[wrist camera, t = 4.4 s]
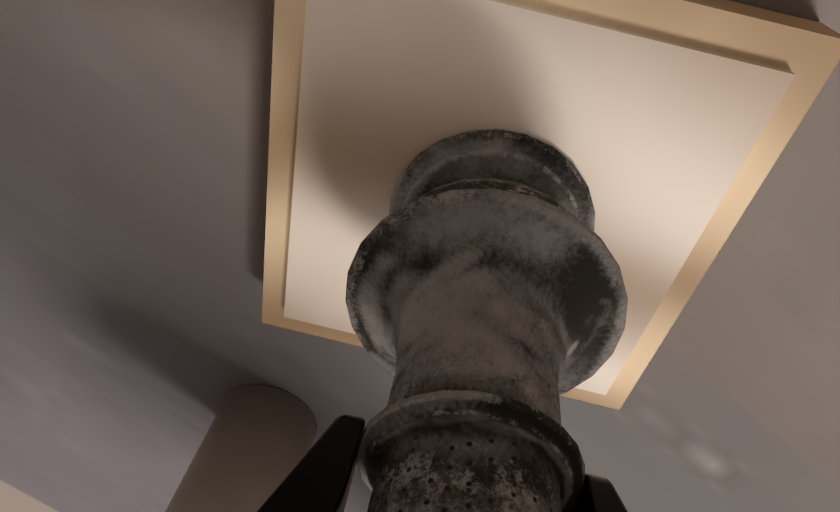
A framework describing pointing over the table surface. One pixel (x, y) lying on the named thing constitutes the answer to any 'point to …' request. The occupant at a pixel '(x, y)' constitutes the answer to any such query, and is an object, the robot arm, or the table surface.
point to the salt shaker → (482, 326)
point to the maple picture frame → (532, 132)
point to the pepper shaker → (246, 451)
